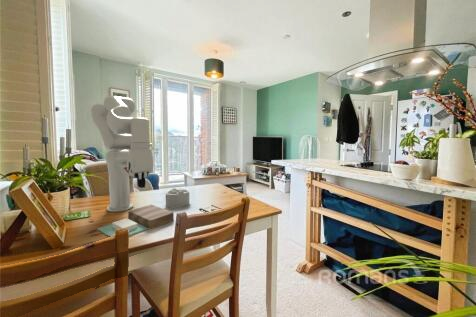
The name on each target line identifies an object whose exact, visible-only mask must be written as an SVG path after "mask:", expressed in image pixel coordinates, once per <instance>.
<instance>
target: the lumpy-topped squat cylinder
mask: <svg viewBox="0 0 476 317" xmlns="http://www.w3.org/2000/svg"><path fill="white" fill-rule="evenodd" d="M187 204H188V205H189V204H190V191H189V190H187V189H185V188H183V187H180V188H175V187H174V188H172V189H170V190H169V191H167V192H166V193H165V207H167V208H180V206H181V207H185V206H187ZM184 205H185V206H184Z"/></svg>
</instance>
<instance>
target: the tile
mask: <svg viewBox="0 0 476 317" xmlns="http://www.w3.org/2000/svg"><path fill="white" fill-rule="evenodd" d="M111 224H113V227H114V228H115V229H122V228H127V229H128V230H129V231H130V230H133V229H136V228H138V225H137V223H136V222H133V221H131V220H129V219H128V218H123V219H120V220H117V221H114V222H112V223H111Z"/></svg>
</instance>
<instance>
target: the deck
mask: <svg viewBox="0 0 476 317" xmlns="http://www.w3.org/2000/svg"><path fill="white" fill-rule="evenodd" d="M127 214H128V215H127V216H128V218H127V219H130V220H132V221H134V222H136V223H139V224H141V225H143V226H145V227H147V228H148V229H147V230H153V229H155V228H158V227H161V226H163V225H165V224H169V223H171V222H174V215H175V214H174V212H173V211H170V210H167V209H166V208H162V207H159V206H157V205H154V204H148V205H145V206H141V207H138V208H134V209H133V208H132V209H129V210H127Z"/></svg>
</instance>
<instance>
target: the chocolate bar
mask: <svg viewBox="0 0 476 317" xmlns="http://www.w3.org/2000/svg"><path fill="white" fill-rule="evenodd" d="M218 209H222V208H221V207H218V206H216V205H213V204H211V205H209V206H204V207H200V208H199V209H198V210H199V211H201V210H203V211H205V212H204V213H206V212H209V211H214V210H218ZM203 211H202V212H203Z"/></svg>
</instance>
